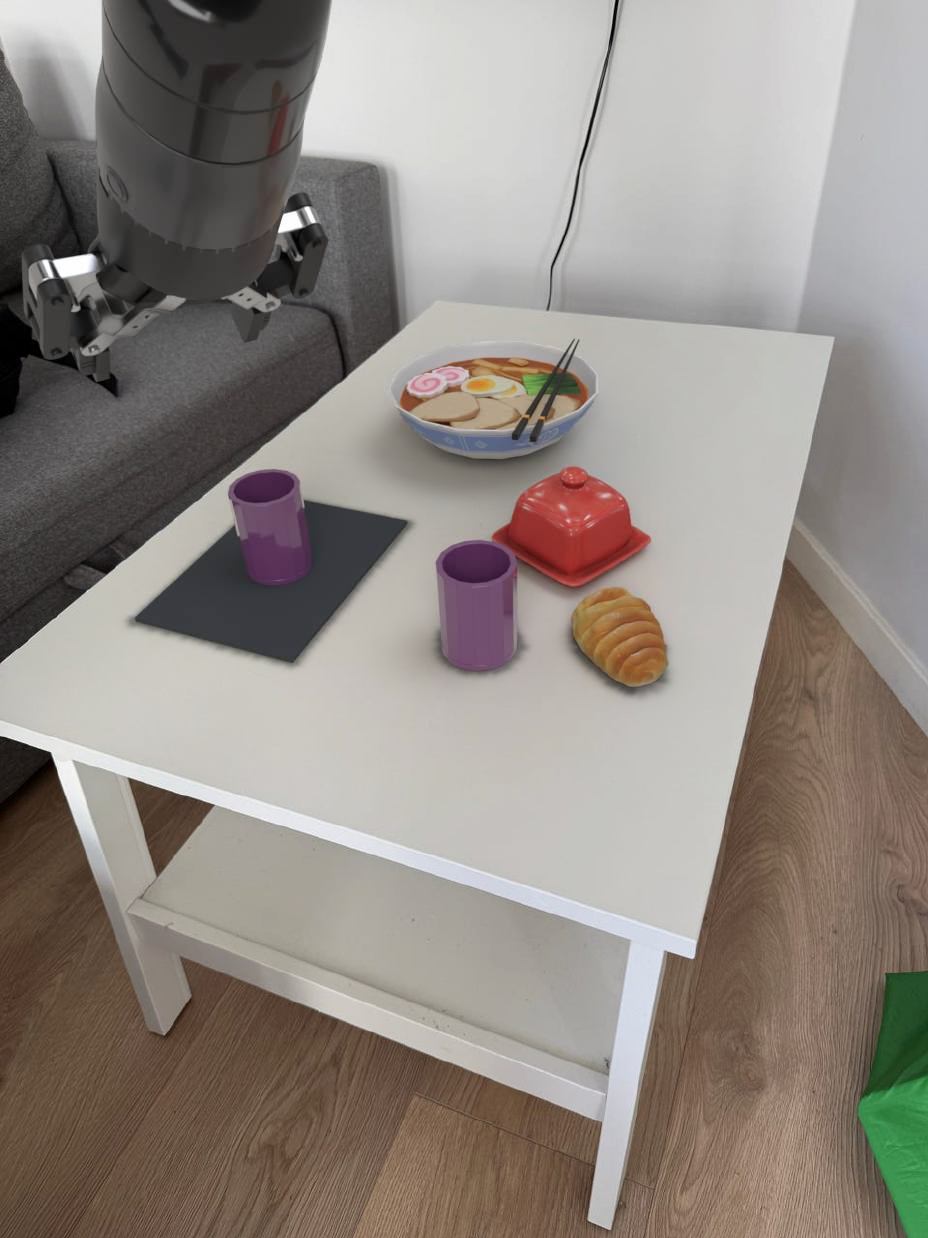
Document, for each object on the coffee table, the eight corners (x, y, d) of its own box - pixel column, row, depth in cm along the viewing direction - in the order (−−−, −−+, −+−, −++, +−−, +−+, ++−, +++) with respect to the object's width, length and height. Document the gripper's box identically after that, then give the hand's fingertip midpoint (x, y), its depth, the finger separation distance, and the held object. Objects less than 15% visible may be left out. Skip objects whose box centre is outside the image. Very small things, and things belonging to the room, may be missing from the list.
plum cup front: (258, 593, 82) (239, 513, 77) (238, 559, 86) (219, 480, 81) (323, 572, 84) (309, 493, 79) (300, 540, 88) (286, 462, 83)
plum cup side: (463, 680, 73) (458, 596, 67) (429, 637, 77) (422, 554, 72) (530, 655, 75) (531, 570, 69) (494, 614, 79) (492, 531, 74)
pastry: (688, 680, 72) (693, 643, 69) (609, 702, 70) (612, 665, 68) (634, 610, 79) (637, 574, 76) (561, 629, 77) (562, 593, 75)
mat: (292, 662, 75) (291, 659, 75) (135, 621, 80) (134, 617, 80) (407, 523, 91) (407, 520, 90) (269, 496, 96) (269, 492, 95)
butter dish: (657, 549, 85) (666, 469, 80) (572, 602, 80) (576, 519, 74) (568, 503, 92) (571, 426, 87) (484, 548, 87) (481, 469, 81)
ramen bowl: (436, 385, 115) (432, 322, 110) (617, 405, 109) (621, 338, 104) (357, 485, 97) (347, 414, 92) (568, 515, 91) (571, 440, 85)
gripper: (320, 52, 39) (262, 258, 54) (-30, 97, 34) (12, 314, 48) (391, 209, 39) (313, 373, 54) (51, 282, 33) (69, 442, 48)
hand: (171, 345), depth 51 cm, fingers open, 8 cm apart
